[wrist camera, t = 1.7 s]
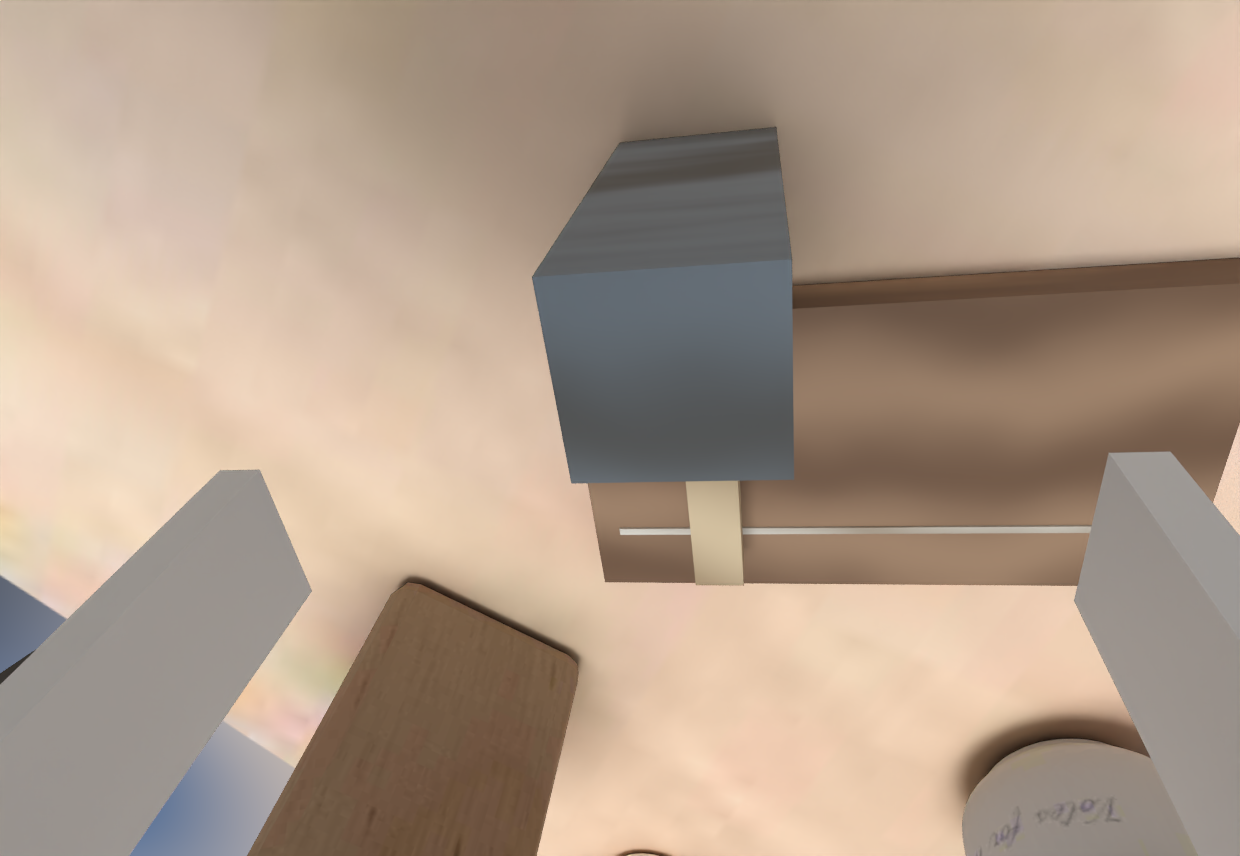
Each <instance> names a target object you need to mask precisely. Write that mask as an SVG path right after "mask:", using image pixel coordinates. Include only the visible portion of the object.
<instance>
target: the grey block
mask: <svg viewBox="0 0 1240 856" xmlns="http://www.w3.org/2000/svg"><path fill="white" fill-rule="evenodd" d="M532 279H533V285H534V290H535V295H536V300H537V306H538V311H539V316H540V321H541V326H542V332H543V337H544V342H545V347H546V353H547V358H548V363H549V368H550V374H551V379H552V384H553V389H554V395H555V400H556V405H557V410H558V415H559V421H560V426H561V431H562V436H563V442H564V447H565V452H566V457H567V463H568V468H569V473H570V478H571V483H626V482H686V490H687V500H688V511H689V521H690V531H691V541H692V551H693V562H694V572H695V582H696V585H742V586H744V548H743V530H742V511H741V493H740V481H747V480H794V416H793V316H792V256H791V247H790V239H789V231H788V222H787V214H786V206H785V197H784V189H783V180H782V172H781V164H780V155H779V147H778V139H777V130H776V127H772V128H762V129H752V130H742V131H732V132H722V133H712V134H702V135H692V136H682V137H672V138H662V139H652V140H642V141H632V142H622V143H619V145H618V146H617V148H616V149H615V151H614V152H613V154H612V155H611V157H610V158H609V160H608V161H607V163H606V165H605V166H604V168H603V169H602V171H601V172H600V174H599V175H598V177H597V178H596V180H595V181H594V183H593V184H592V186H591V188H590V189H589V191H588V192H587V194H586V195H585V197H584V198H583V200H582V201H581V203H580V204H579V206H578V207H577V209H576V210H575V212H574V214H573V215H572V217H571V218H570V220H569V221H568V223H567V224H566V226H565V227H564V229H563V230H562V232H561V233H560V235H559V237H558V238H557V240H556V241H555V243H554V244H553V246H552V247H551V249H550V250H549V252H548V253H547V255H546V256H545V258H544V260H543V261H542V263H541V264H540V266H539V267H538V269H537V270H536V272H535V273H534V275H533V276H532Z"/></svg>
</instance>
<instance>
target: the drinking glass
mask: <svg viewBox="0 0 1240 856" xmlns="http://www.w3.org/2000/svg"><path fill="white" fill-rule="evenodd" d="M626 856H658V855H654V854H646V853H637V854H630V855H626Z"/></svg>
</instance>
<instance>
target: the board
mask: <svg viewBox="0 0 1240 856" xmlns="http://www.w3.org/2000/svg"><path fill="white" fill-rule="evenodd" d="M792 316H793V416H794V480H747V481H740V493H741V511H742V530H743V548H744V583H789V584H920V585H1050V586H1078V582H1079V578H1080V574H1081V569H1082V565H1083V561H1084V556H1085V552H1086V548H1087V544H1088V539H1089V535H1090V531H1091V527H1092V522H1093V518H1094V514H1095V509H1096V505H1097V501H1098V497H1099V492H1100V488H1101V484H1102V480H1103V475H1104V471H1105V467H1106V462H1107V458H1108V454H1109V453H1125V452H1171V453H1172V454H1173V455H1174V456H1175V458H1176V459H1177V460H1178V461H1179V462H1180V464H1181V465H1182V466H1183V467H1184V469H1185V470H1186V471H1187V472H1188V473H1189V475H1190V476H1191V477H1192V478H1193V480H1194V481H1195V482H1196V483H1197V484H1198V486H1199V487H1200V488H1201V489H1202V490H1203V492H1204V493H1205V494H1206V495H1207V497H1208V498H1209V499H1210V500H1211V501H1212V503H1213V501H1214V498H1215V495H1216V492H1217V489H1218V486H1219V483H1220V480H1221V477H1222V474H1223V471H1224V468H1225V465H1226V462H1227V459H1228V456H1229V453H1230V450H1231V447H1232V444H1233V441H1234V438H1235V435H1236V432H1237V429H1238V426H1239V423H1240V258H1231V259H1215V260H1199V261H1183V262H1167V263H1151V264H1135V265H1119V266H1103V267H1087V268H1070V269H1054V270H1038V271H1022V272H1006V273H990V274H974V275H958V276H942V277H926V278H910V279H893V280H877V281H861V282H845V283H829V284H813V285H797V286H792ZM588 488H589V493H590V499H591V505H592V510H593V516H594V521H595V527H596V533H597V538H598V544H599V550H600V555H601V561H602V567H603V572H604V578H605V582H658V583H696V582H695V572H694V562H693V551H692V541H691V531H690V521H689V511H688V500H687V490H686V482H626V483H588Z"/></svg>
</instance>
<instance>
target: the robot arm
mask: <svg viewBox="0 0 1240 856" xmlns="http://www.w3.org/2000/svg"><path fill="white" fill-rule="evenodd" d="M311 592H312V590H311V588H310V585H309V583H308V581H307V578H306V576H305V574H304V571H303V569H302V567H301V565H300V562H299V560H298V558H297V555H296V553H295V551H294V548H293V546H292V544H291V541H290V539H289V537H288V534H287V532H286V530H285V527H284V525H283V523H282V520H281V518H280V516H279V513H278V511H277V509H276V506H275V504H274V502H273V499H272V497H271V495H270V492H269V490H268V488H267V485H266V483H265V481H264V479H263V476H262V474H261V472H260V470H220V471H219V472H218V473H217V474H216V475H215V476H214V477H213V478H212V479H211V480H210V481H209V482H208V483H207V484H206V485H205V486H203V487H202V488H201V489H200V490H199V491H198V492H197V493H196V494H195V495H194V496H193V497H192V498H191V499H190V500H189V501H188V502H187V503H186V504H185V505H184V506H183V507H182V508H181V509H180V510H179V511H178V512H177V513H176V514H175V515H174V516H173V517H172V518H171V519H170V520H169V521H168V522H167V523H166V524H165V525H163V526H162V527H161V528H160V529H159V530H158V531H157V532H156V533H155V534H154V535H153V536H152V537H151V538H150V539H149V540H148V541H147V542H146V543H145V544H144V545H143V546H142V547H141V548H140V549H139V550H138V551H137V552H136V553H135V554H134V555H133V556H132V557H131V558H130V559H129V560H128V561H127V562H126V563H125V564H123V565H122V566H121V567H120V568H119V569H118V570H117V571H116V572H115V573H114V574H113V575H112V576H111V577H110V578H109V579H108V580H107V581H106V582H105V583H104V584H103V585H102V586H101V587H100V588H99V589H98V590H97V591H96V592H95V593H94V594H93V595H92V596H91V597H90V598H89V599H88V600H87V601H86V602H85V603H83V604H82V605H81V606H80V607H79V608H78V609H77V610H76V611H75V612H74V613H73V614H72V615H71V616H70V617H69V618H68V619H67V620H66V621H65V622H64V623H63V624H62V625H61V626H60V627H59V628H58V629H57V630H56V631H55V632H54V633H53V634H52V635H51V636H50V637H49V638H48V639H47V640H46V641H45V642H44V643H42V645H40V646H39V647H38V648H37V649H36V650H34V651H33V652H31V653H30V654H28V655H27V656H25V657H24V658H22V659H21V660H20V661H18V662H16V663H15V664H13V665H12V666H11V667H9V668H8V669H6V670H5V671H3V672H2V673H0V856H129V855H130V854H131V852H132V851H133V849H134V848H135V846H136V845H137V844H138V842H139V841H140V839H141V838H142V836H143V835H144V833H145V832H146V830H147V829H148V828H149V826H150V825H151V823H152V822H153V820H154V819H155V817H156V816H157V815H158V813H159V811H160V810H161V809H162V807H163V806H164V804H165V803H166V802H167V800H168V798H169V797H170V796H171V794H172V792H173V791H174V790H175V788H176V787H177V785H178V784H179V783H180V781H181V780H182V778H183V777H184V775H185V774H186V773H187V771H188V770H189V768H190V767H191V765H192V764H193V762H194V761H195V760H196V758H197V757H198V755H199V754H200V752H201V751H202V749H203V748H204V746H205V745H206V743H207V742H208V741H209V739H210V738H211V736H212V735H213V733H214V732H215V731H216V729H217V727H218V726H219V725H220V723H221V722H222V720H223V719H224V718H225V716H226V715H227V713H228V712H229V710H230V709H231V707H232V706H233V705H234V703H235V702H236V700H237V699H238V697H239V696H240V694H241V693H242V691H243V690H244V689H245V687H246V686H247V684H248V683H249V681H250V680H251V678H252V677H253V676H254V674H255V673H256V671H257V670H258V668H259V667H260V665H261V664H262V663H263V661H264V660H265V658H266V657H267V655H268V654H269V652H270V651H271V649H272V648H273V647H274V645H275V644H276V642H277V641H278V639H279V638H280V636H281V635H282V634H283V632H284V631H285V629H286V628H287V626H288V625H289V623H290V622H291V621H292V619H293V618H294V616H295V615H296V613H297V612H298V610H299V609H300V607H301V606H302V605H303V603H304V602H305V600H306V599H307V597H308V596H309V594H310V593H311ZM1074 602H1075V604H1076V606H1077V608H1078V610H1079V612H1080V614H1081V616H1082V618H1083V620H1084V622H1085V624H1086V626H1087V628H1088V630H1089V632H1090V634H1091V636H1092V638H1093V641H1094V643H1095V645H1096V647H1097V649H1098V651H1099V653H1100V655H1101V657H1102V659H1103V661H1104V663H1105V665H1106V667H1107V669H1108V671H1109V673H1110V675H1111V677H1112V680H1113V682H1114V684H1115V686H1116V688H1117V690H1118V692H1119V694H1120V696H1121V698H1122V700H1123V702H1124V704H1125V706H1126V708H1127V710H1128V712H1129V714H1130V716H1131V719H1132V721H1133V723H1134V725H1135V727H1136V729H1137V731H1138V733H1139V735H1140V737H1141V739H1142V741H1143V743H1144V745H1145V747H1146V749H1147V751H1148V753H1149V755H1150V758H1151V760H1152V762H1153V764H1154V766H1155V768H1156V770H1157V772H1158V774H1159V776H1160V778H1161V780H1162V782H1163V784H1164V786H1165V788H1166V790H1167V792H1168V794H1169V797H1170V799H1171V801H1172V803H1173V805H1174V807H1175V809H1176V811H1177V813H1178V815H1179V817H1180V819H1181V821H1182V823H1183V825H1184V827H1185V829H1186V831H1187V833H1188V836H1189V838H1190V840H1191V842H1192V844H1193V846H1194V848H1195V850H1196V852H1197V854H1198V856H1240V535H1239V534H1238V533H1237V532H1236V531H1235V529H1234V528H1233V527H1232V526H1231V524H1230V523H1229V522H1228V521H1227V520H1226V518H1225V517H1224V516H1223V515H1222V514H1221V512H1220V511H1219V510H1218V509H1217V507H1216V506H1215V505H1214V504H1213V503H1212V501H1211V500H1210V499H1209V498H1208V497H1207V495H1206V494H1205V493H1204V492H1203V490H1202V489H1201V488H1200V487H1199V486H1198V484H1197V483H1196V482H1195V481H1194V480H1193V478H1192V477H1191V476H1190V475H1189V473H1188V472H1187V471H1186V470H1185V469H1184V467H1183V466H1182V465H1181V464H1180V462H1179V461H1178V460H1177V459H1176V458H1175V456H1174V455H1173V454H1172V453H1171V452H1125V453H1109V454H1108V458H1107V462H1106V467H1105V471H1104V475H1103V480H1102V484H1101V488H1100V492H1099V497H1098V501H1097V505H1096V509H1095V514H1094V518H1093V522H1092V527H1091V531H1090V535H1089V539H1088V544H1087V548H1086V552H1085V556H1084V561H1083V565H1082V569H1081V574H1080V578H1079V582H1078V586H1077V591H1076V595H1075V599H1074Z"/></svg>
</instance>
